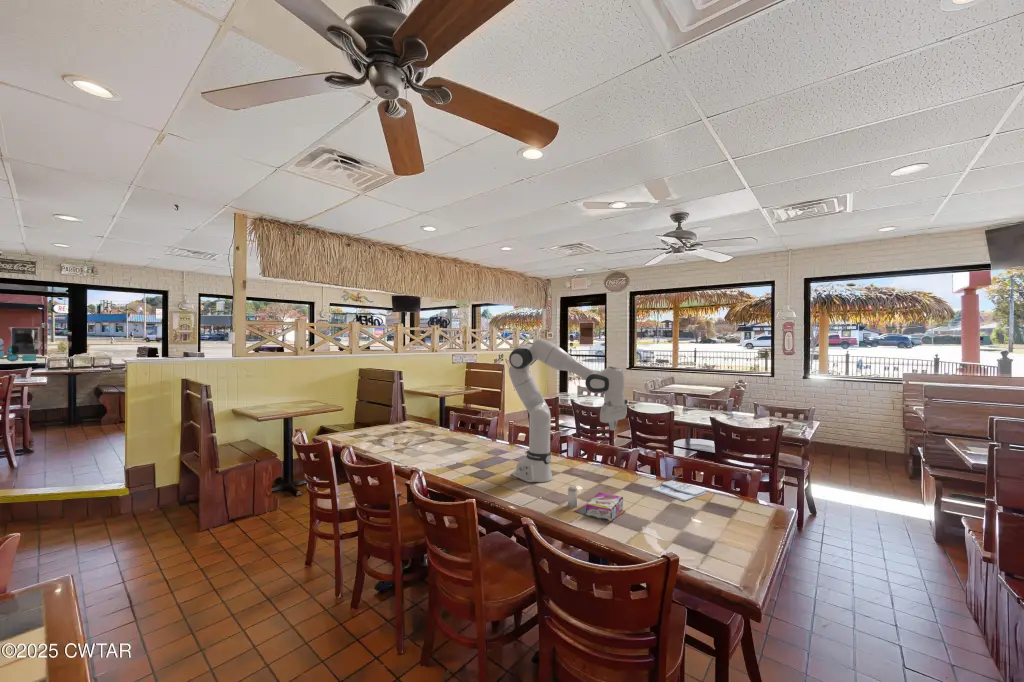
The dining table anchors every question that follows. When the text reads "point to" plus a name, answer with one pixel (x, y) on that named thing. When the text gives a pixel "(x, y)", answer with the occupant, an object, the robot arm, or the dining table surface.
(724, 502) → the dining table surface
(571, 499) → the salt shaker
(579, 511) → the bar mat
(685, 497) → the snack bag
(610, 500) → the candy bar box
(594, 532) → the dining table surface
